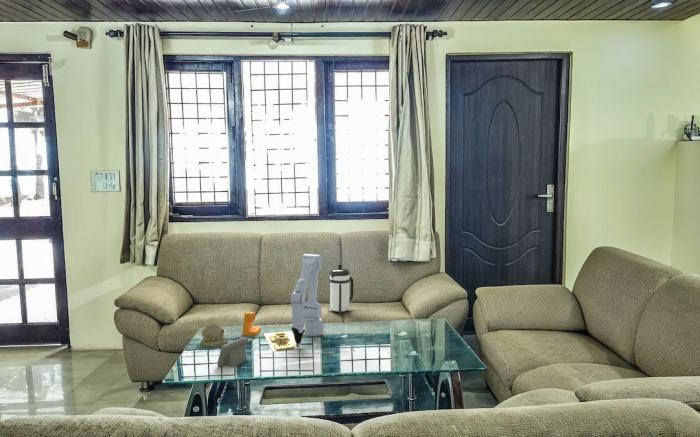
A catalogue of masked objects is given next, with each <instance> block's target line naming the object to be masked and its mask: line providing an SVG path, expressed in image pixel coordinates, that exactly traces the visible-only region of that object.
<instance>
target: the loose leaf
mask: <svg viewBox="0 0 700 437" xmlns="http://www.w3.org/2000/svg"><path fill="white" fill-rule="evenodd" d="M284 332H285V331H279V332H278V331H277V332H275V333H276V335H270V339H271V341H272V342H276V336H278V335H286V336H287V334H285V333H284ZM288 340H289V337H288Z"/></svg>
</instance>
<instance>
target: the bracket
mask: <svg viewBox="0 0 700 437" xmlns="http://www.w3.org/2000/svg"><path fill="white" fill-rule="evenodd" d="M255 321H256V311H245V312H244V316H243V326H242V336H249V337H250V336H252V337H255V336H257V335H259V333H260V332H261V331H262V326H260V325H253V323H255Z"/></svg>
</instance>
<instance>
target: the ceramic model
mask: <svg viewBox="0 0 700 437" xmlns="http://www.w3.org/2000/svg"><path fill="white" fill-rule="evenodd" d="M225 332H226V331H225V330H224V328H223V327H221V326H220V325H216V323H211V324H208V325H206V327H205V328H204V329H203V330H202V331H201V337H202V339H201V340H200V345H202V346H204V347H205V346H206V347H222V346H223V345H225V344H228V340H229V339H228V337H225V336H224V335H225Z"/></svg>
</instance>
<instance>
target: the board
mask: <svg viewBox="0 0 700 437" xmlns="http://www.w3.org/2000/svg"><path fill="white" fill-rule="evenodd" d="M283 332H284V333H285V334H287V336H288V337H289V340H288V342H292V344H293V345H294V347H295V349H294V350H299V349H303V347H302V345H301V344H300V346H296V342H295V339H294V334H293V331H292V330H289V331H283ZM263 335H264V337H265V339H266V342H267V343H268V345H269V348H270V349H271V351H272V352H277V351H276V349H275V347H274V344H275V343H276V342H272V341H271V339H270V335H276V332H269V333H268V332H267V333H266V332H265V333H263ZM289 350H291V351H292V349H288V350H287V351H289ZM279 351H282V350H279ZM279 351H278V352H279Z"/></svg>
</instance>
